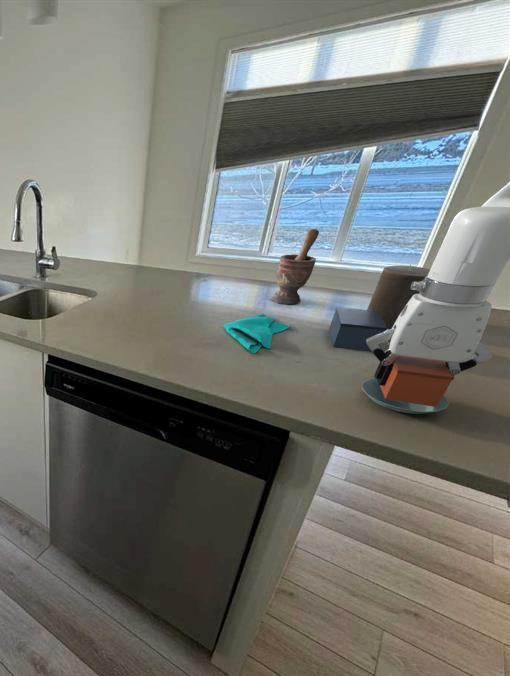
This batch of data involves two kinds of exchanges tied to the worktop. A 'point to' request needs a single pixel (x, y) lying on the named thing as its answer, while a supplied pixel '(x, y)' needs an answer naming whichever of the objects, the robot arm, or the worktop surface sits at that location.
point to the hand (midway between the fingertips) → (407, 385)
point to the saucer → (377, 395)
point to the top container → (417, 381)
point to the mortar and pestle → (295, 271)
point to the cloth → (255, 331)
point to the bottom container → (355, 328)
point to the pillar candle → (395, 291)
